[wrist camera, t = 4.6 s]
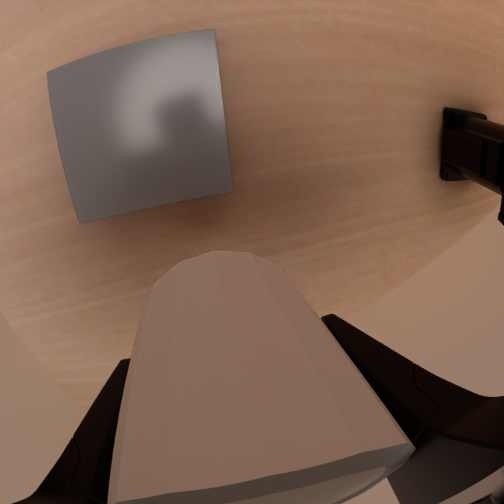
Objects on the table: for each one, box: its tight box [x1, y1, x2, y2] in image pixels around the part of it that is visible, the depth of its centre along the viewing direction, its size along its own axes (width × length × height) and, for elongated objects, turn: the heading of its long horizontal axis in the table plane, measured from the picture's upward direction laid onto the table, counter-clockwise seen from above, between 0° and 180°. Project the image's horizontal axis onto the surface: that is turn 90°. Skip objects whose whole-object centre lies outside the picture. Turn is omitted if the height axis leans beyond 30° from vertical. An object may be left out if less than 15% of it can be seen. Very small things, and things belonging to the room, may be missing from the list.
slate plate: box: [47, 29, 234, 224], centre depth 15 cm, size 10×10×1 cm
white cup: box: [107, 250, 416, 504], centre depth 7 cm, size 7×7×7 cm
